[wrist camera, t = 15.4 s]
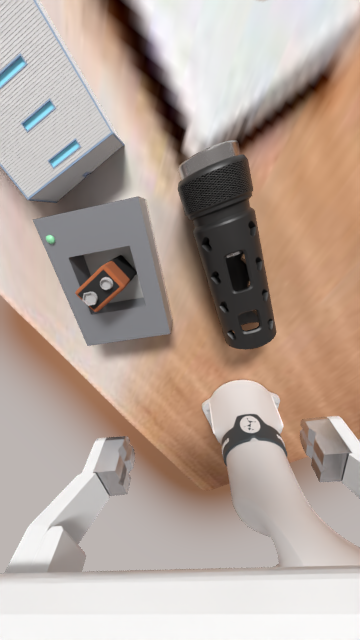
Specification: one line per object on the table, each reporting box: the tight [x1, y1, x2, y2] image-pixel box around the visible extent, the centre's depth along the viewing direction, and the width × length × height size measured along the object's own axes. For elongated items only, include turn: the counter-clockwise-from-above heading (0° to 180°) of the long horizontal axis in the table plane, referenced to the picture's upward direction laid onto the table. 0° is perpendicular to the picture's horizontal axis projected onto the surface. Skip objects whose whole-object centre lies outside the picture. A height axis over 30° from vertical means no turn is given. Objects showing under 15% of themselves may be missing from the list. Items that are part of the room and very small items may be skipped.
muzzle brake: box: [178, 140, 276, 349], centre depth 34 cm, size 10×28×10 cm, turn 19°
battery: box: [75, 255, 137, 312], centre depth 35 cm, size 4×7×10 cm, turn 130°
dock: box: [33, 197, 173, 346], centre depth 38 cm, size 22×16×6 cm
